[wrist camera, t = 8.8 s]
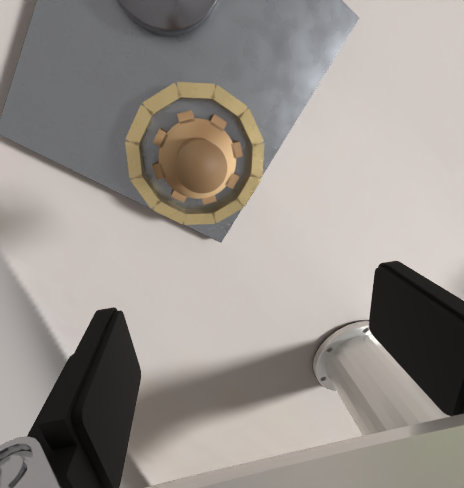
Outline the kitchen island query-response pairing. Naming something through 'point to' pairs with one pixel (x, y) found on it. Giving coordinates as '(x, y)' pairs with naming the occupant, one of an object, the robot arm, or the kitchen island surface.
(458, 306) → the robot arm
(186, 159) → the planet gear
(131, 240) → the kitchen island surface
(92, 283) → the kitchen island surface
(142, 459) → the kitchen island surface
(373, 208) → the kitchen island surface
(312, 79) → the carrier plate
